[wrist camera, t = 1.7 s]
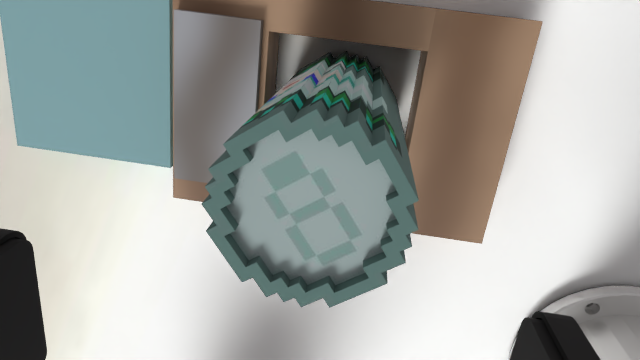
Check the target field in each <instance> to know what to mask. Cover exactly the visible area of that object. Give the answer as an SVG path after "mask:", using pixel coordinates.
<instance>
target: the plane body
mask: <svg viewBox="0 0 640 360" xmlns="http://www.w3.org/2000/svg"><path fill="white" fill-rule="evenodd" d="M541 26H542V21H535V20H527V19H519V18H511V17H503V16H495V15H486V14H478V13H470V12H462V11H453V10H445V9H437V8H429V7H420V6H412V5H404V4H396V3H388V2H379V1H371V0H173V197H174V198H181V199H187V200H194V201H201V202H203V201H204V200H205V199H206V198H207V197H208V195H209V192H208V191H207V189H206V188H205V186H206V185H207V184H208V182H209V181H210V180H211V179H212V178H213V176H212V174H211V173H210V171H209V170H208V168H209V167H210V166H211V165H212V164H213V163H214V162H215V161H216V160H217V159H218V158H219V157H220V156H221V155H222V154H223V153H224V152H225V151H226V148H225V147H224V145H223V144H224V143H225V142H226V141H227V140H228V139H229V138H230V137H231V136H232V135H233V134H234V133H235V132H236V131H237V130H238V129H239V128H240V127H241V126H242V125H243V124H244V123H246V122H247V121H248V120H249V119H250V118H251V117H252V116H253V115H254V114H255V113H256V112H257V111H258V110H259V109H260V108H261V107H262V106H263V105H264V104H265V103H266V102H267V101H268V100H269V99H271V98H272V97H273V96H274V95H275V86H276V73H277V60H278V47H279V34H280V33H286V34H294V35H302V36H310V37H318V38H326V39H334V40H341V41H349V42H357V43H365V44H373V45H381V46H389V47H397V48H404V49H412V50H420V51H421V55H420V60H419V66H418V71H417V76H416V82H415V87H414V92H413V98H412V103H411V108H410V114H409V119H408V125H407V130H406V135H405V141H406V146H407V150H408V154H409V159H410V163H411V168H412V172H413V177H414V181H415V186H416V190H417V195H418V199H419V201H417V202H415V203H413V204H414V209H415V214H416V220H417V225H418V230H417V231H415V232H412V233H414V234H421V235H427V236H434V237H441V238H447V239H454V240H461V241H467V242H474V243H481V244H482V241H483V237H484V233H485V230H486V226H487V222H488V219H489V215H490V211H491V208H492V204H493V201H494V197H495V193H496V190H497V186H498V182H499V179H500V175H501V171H502V168H503V164H504V161H505V157H506V153H507V150H508V146H509V142H510V139H511V135H512V131H513V128H514V124H515V120H516V117H517V113H518V110H519V106H520V102H521V99H522V95H523V91H524V88H525V84H526V80H527V77H528V73H529V69H530V66H531V62H532V59H533V55H534V51H535V48H536V44H537V40H538V37H539V33H540V29H541Z"/></svg>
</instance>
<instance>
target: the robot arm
mask: <svg viewBox="0 0 640 360" xmlns="http://www.w3.org/2000/svg"><path fill="white" fill-rule="evenodd" d="M46 355H47V347H46V340H45V333H44V325H43V318H42V311H41V303H40V296H39V289H38V281H37V274H36V267H35V259H34V252H33V247H32V244H31V243H30V242H29V241H27V240H26V237H25V236H24V234H23V233H21V232H19V231H13V230H7V229H0V360H45V359H46ZM509 360H640V287H634V286H604V287H598V288H591V289H587V290H583V291H580V292H577V293H574V294H570V295H568V296H566V297H564V298H562V299H560V300H558V301H555V302H553V303H551V304H550V305H549V306H547V307H546V308H544V309H543V310H541V311H538V312H536V313H535V314H534V315H533V317H532V318H525V319H524V320H523V321H522V323H521V326H520V329H519V332H518V335H517V338H516V339H515V341H514V344H513V346H512V349H511V352H510V356H509Z"/></svg>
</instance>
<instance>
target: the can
mask: <svg viewBox="0 0 640 360" xmlns="http://www.w3.org/2000/svg"><path fill="white" fill-rule="evenodd" d="M223 145H224V147H225V148H226V151H225V152H224V153H223V154H222V155H221V156H220V157H219V158H218V159H217V160H216V161H215V162H214V163H213V164H212V165H211V166H210V167H209V168H208V170H209V171H210V173H211V174H212V176H213V178H212V179H211V180H210V181H209V182H208V184H207V185H206V186H205V188H206V189H207V191H208V192H209V195H208V197H207V198H206V199H205V200H204V201H203V203H202V205H203V207H204V208H205V210H206V211H207V212H208V214H209V215H210V217H211V218H212V220H213V222H212V224H211V225H210V226H209V228H208V229H207V230H206V232H207V233H208V235H209V236H210V237H211V239H212V240H213V242H214V243H215V245H216V246H217V247H218V249H219V250H220V252H221V253H222V254H223V256H224V257H225V259H226V260H227V262H228V263H229V264H230V266H231V267H232V269H233V270H234V271H235V273H236V274H237V276H238V277H239V279H240V280H241V281H242V282H244V281H246V280H248V279H251V278H253V279H254V280H255V281H256V283H257V284H258V286H259V287H260V289H261V290H262V292H263V293H264V294H265V296H266V297H268V296H270V295H272V294H275V293H278V295H279V296H280V297H281V299H282V300H283V302H285V301H288V300H290V299H292V298H295V299H296V300H297V302H298V303H299V305H300V306H301V307H303V306H305V305H307V304H310V303H312V302H314V301H317V300H319V299H322V298H324V300H325V301H326V303H327V305H328V306H329V308H330V307H332V306H335V305H337V304H339V303H342V302H344V301H346V300H349V299H351V298H354V297H356V296H358V295H361V294H363V293H366V292H368V291H370V290H373V289H375V288H378V287H380V286H382V285H385V284H387V270H390V269H392V268H394V267H397V266H399V265H401V264H404V263H406V262H405V254H404V250H405V249H407V248H410V247H412V244H411V237H410V233H412V232H415V231H417V230H418V225H417V220H416V214H415V209H414V204H413V203H415V202H417V201H419V199H418V195H417V190H416V186H415V181H414V177H413V172H412V168H411V163H410V159H409V154H408V150H407V146H406V141H405V137H404V132H403V128H402V123H401V119H400V114H399V110H398V105H397V101H396V97H395V95H394V93H393V91H392V89H391V87H390V85H389V83H388V82H387V80H386V78H385V76H384V74H383V72H382V70H381V68H380V66H378V67H377V68H375V69H372V67H371V65H370V63H369V61H368V59H367V57H365V58H363V59H361V60H359V58H358V56H357V54H356V55H354V56H352V57H350V56H349V54H348V53H347V51H346V52H344V53H343V54H341V55H339V56H338V57H336V58H334V57H333V55H332V53H331V52H330V53H328V54H326V55H325V56H323V57H321V58H320V59H318V60H316V61H315V62H313V63H311V64H309V65H308V66H306V67H304V68H303V69H301V70H300V71H299V72H298V73H297V74H295V75H294V76H293V77H292V78H291V79H290V80H289V81H288V82H287V83H286V84H285V85H284V86H283V87H282V88H281V89H280V90H279V91H278V92H277V93H276V94H275V95H274V96H273V97H272V98H271V99H269V100H268V101H267V102H266V103H265V104H264V105H263V106H262V107H261V108H260V109H259V110H258V111H257V112H256V113H255V114H254V115H253V116H252V117H251V118H250V119H249V120H248V121H247V122H246V123H244V124H243V125H242V126H241V127H240V128H239V129H238V130H237V131H236V132H235V133H234V134H233V135H232V136H231V137H230V138H229V139H228V140H227V141H226V142H225V143H224V144H223Z"/></svg>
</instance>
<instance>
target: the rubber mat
mask: <svg viewBox="0 0 640 360" xmlns="http://www.w3.org/2000/svg"><path fill="white" fill-rule="evenodd" d="M0 18H1V25H2V33H3V40H4V48H5V55H6V63H7V70H8V78H9V85H10V93H11V100H12V108H13V115H14V123H15V130H16V138H17V145H18V146H25V147H32V148H38V149H45V150H52V151H59V152H66V153H73V154H79V155H86V156H93V157H100V158H107V159H114V160H121V161H127V162H134V163H141V164H148V165H155V166H162V167H168V168H171V167H172V166H173V0H0Z"/></svg>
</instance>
